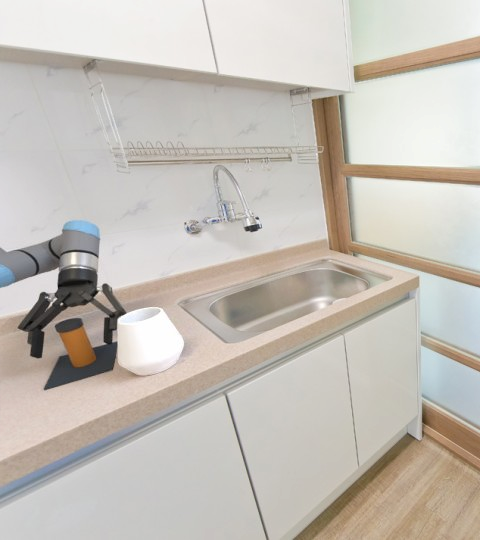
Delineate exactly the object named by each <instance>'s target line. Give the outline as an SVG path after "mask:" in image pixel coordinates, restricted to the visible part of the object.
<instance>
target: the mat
mask: <svg viewBox="0 0 480 540" xmlns="http://www.w3.org/2000/svg"><path fill="white" fill-rule="evenodd" d="M92 349H93V351H94V353H95V356H96V360H95V361H94V362H93V363H91V364H89V365H86V366H83V367H74V366H73V364H72V362H71V360H70V358H69V355H68V353H66V354H64V355H60V356H58V358H57V361H56V363H55V365H54V366H53V369H52V371H51V373H50V375H49V378H48V379H47V381H46V383H45V385H44V388H43V390H44V391H47V390H50V389H54V388H57V387H60V386H64V385H67V384H71V383H73V382H77V381H82V380H84V379H87V378H90V377H93V376H97V375H101V374H105V373H108V372H111V371H113V370H114V365H115V360H116V356H117V351H118V340H117V341H112V344H110V345H108V344H106V343H104V344H102V345H98V346H97V345H96V346H92Z"/></svg>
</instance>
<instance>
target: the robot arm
mask: <svg viewBox="0 0 480 540" xmlns="http://www.w3.org/2000/svg"><path fill="white" fill-rule="evenodd" d="M61 232H62V233H61V234H58V235H56V236H54V237H52V238H49V239H47V240H45V241H42V242H39V243H36V244H32V245H29V246H25V247H21V248H17V249H13V250H10V251H6V250H5V249H3V248H2V247H0V289H1V288H2V289H3V288H7V287H9V286H11V285H13V284H15V283H18V282H21V281H23V280H26V279H29V278H32V277H35V276H38V275H41V274H44V273H49V272H52V271H55V270H57V269H58V275H57V283H56V284H57V289H56V291H55V292H46V291H41V292H40V293H39V296H38V299H37V301H36V302H35V304H34V305H33V306H32V308H31V309H30V310H29V311H28V313H27V314H26V315H25V316H24V318H23V319H22V320H21V322H20V323H19V325H18V326H17V329H18V330H19V331H23V332H25V333H27V344H28V345H29V346H30V351H29V352H30V353H29V357H32V358H35V359H42V358H43V351H44V343H45V342H44V341H45V333H46V332H45V331H43V330H44V329H45V328H46V327H47V326H48V325H49V324H50V323H51V322H52V321H53V320H54V319H56V318H57V317H58V316H59V315H60V314H61V313H62V312H65V311H66V310H67V309H68V308H75V307H79V306H80V307H84V306H87V305H88V304H89V303H90V304H92V305H93V306H94V307H96V308H97V309H98V310H100V311H101V312H103V313H104V314H105V315H107V316H106V317H103V340H102V342H103V343H104V344H108V345H110V344H112V342H114V341H113V340H114V339H113V337H114V331H117V322H118V319H119V318H120V317H122V316H123V315H125V314H127V313H128V312H127V311H126V310H125V307H123V306H122V304H121V303H120V302H119V300H118V299H117V297H116V296H115V294H114V292H113V287H112V286H110V285H109V284H108V283H106V282H105V283H102V285H100V286H98V279H99V274H98V273H99V256H100V242H101V234H100V233H101V232H100V228H99V226H98V225H96V224H94V223H92V222H90V221H88V220H82V219H74V220H73V219H71V220H69V221H67V222H65V223H64V224H63V226H62V229H61ZM99 293H101V294H102V295H104V296H105V297H106V299H107V301H109V303H110V304H111V306H112V307H113V309H114V310H115V311H113V310H111V309H109V308H108V306H107V307H106V306H105V305H104V304H103V303H101V302H100V301H99V300H98V299H96V298H95V297H96V296H97V295H98V294H99ZM61 304H62V305H61ZM50 305H51V306H50Z"/></svg>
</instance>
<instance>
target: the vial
mask: <svg viewBox="0 0 480 540" xmlns="http://www.w3.org/2000/svg"><path fill="white" fill-rule="evenodd" d="M84 325H85V324H84V321H83V319H82V318H81V317H73V318H68V319H65V320H62V321H59V322H58V323H55V325H54V329H55V331H56V333H58V335H59V337H60V339H61V342H62V344H63V347H64V349H65V350H66V354H68V355H69V358H70V360H71V362H72V364H73V366H74V367H83V366H86V365H89V364H91V363H93V362H94V361H95V360H96V356H95V353H94V351H93V349H92V348H93V346H92V344H91V342H90V339H89V336H88V334H87V332H86V329H85V326H84Z"/></svg>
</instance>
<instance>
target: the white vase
mask: <svg viewBox="0 0 480 540" xmlns="http://www.w3.org/2000/svg"><path fill="white" fill-rule="evenodd" d="M126 313H127V314H125V315H123V316H120V317H119V318H118V319H117V329H116V331H117V332H116V333H117V341H118V345H117V363H118V364H119V366H120V367H122V368H124V369H125V370H127V371H129V372H131V373H133V374H135V375H137V376H139V377H140V376H141V377H143V376H144V377H146V376H151V375H153V376H154V375H156V374H159V373H162V372H164V371H166V370H168V369H170V368H172V367H174V365H175V364H177V362H178V361H179V359H180V357H181V354H182V352H183V349H184V347H185V341H184V338H183V335H182V334H180V332H179V330H178V329H177V328H176V326H175V325H174V323H173V322H172V321H171V319H170V318H169V316H168V315H167V313H166V312H165V310H164V309H163V308H161V307H157V306H150V307H144V308H140V309H135V310H132V311H129V312H126Z"/></svg>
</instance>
